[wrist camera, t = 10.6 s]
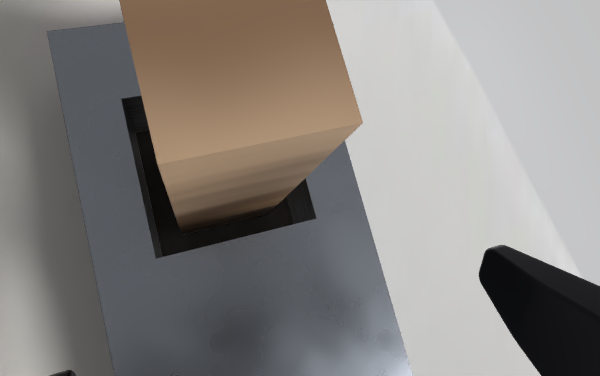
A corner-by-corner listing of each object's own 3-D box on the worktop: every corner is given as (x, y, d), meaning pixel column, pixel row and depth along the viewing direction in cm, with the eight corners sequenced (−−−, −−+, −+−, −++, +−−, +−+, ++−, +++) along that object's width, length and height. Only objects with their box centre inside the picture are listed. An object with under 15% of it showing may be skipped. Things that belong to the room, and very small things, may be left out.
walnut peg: (268, 213, 21) (362, 122, 9) (181, 235, 20) (157, 164, 8) (247, 133, 21) (309, -54, 9) (161, 149, 20) (110, -37, 8)
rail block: (414, 506, 20) (466, 560, 16) (183, 611, 17) (179, 706, 13) (286, 48, 23) (304, 1, 19) (75, 78, 20) (46, 31, 16)
